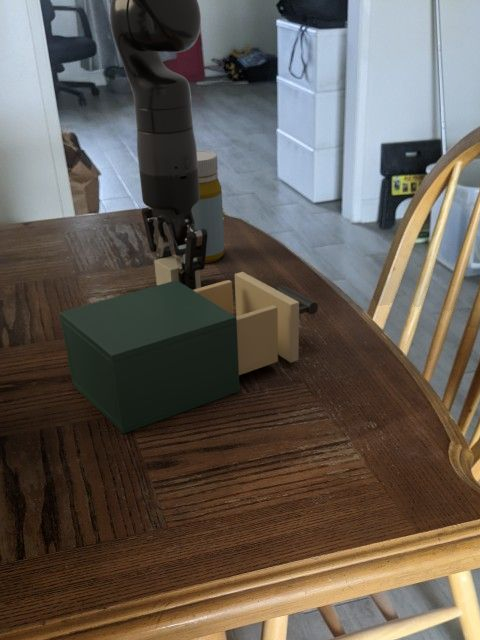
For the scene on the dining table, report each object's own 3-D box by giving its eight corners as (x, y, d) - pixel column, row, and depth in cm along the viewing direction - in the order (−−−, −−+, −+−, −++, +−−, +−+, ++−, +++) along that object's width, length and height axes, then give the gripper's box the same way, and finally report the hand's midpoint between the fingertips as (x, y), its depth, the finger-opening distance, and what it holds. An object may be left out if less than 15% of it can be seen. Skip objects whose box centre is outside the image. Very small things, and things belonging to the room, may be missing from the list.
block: (173, 302, 108) (170, 270, 105) (157, 291, 111) (153, 260, 108) (201, 293, 110) (199, 262, 107) (185, 283, 113) (182, 252, 110)
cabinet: (182, 350, 96) (176, 279, 91) (239, 391, 88) (236, 316, 82) (72, 386, 89) (59, 312, 84) (123, 434, 81) (111, 355, 76)
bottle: (209, 245, 126) (204, 146, 117) (233, 258, 121) (228, 156, 112) (171, 254, 122) (162, 154, 114) (194, 268, 118) (186, 164, 109)
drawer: (274, 316, 102) (274, 262, 97) (330, 348, 94) (332, 291, 90) (150, 356, 93) (144, 298, 89) (201, 395, 86) (196, 334, 81)
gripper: (116, 158, 103) (132, 281, 113) (170, 182, 94) (182, 314, 104) (166, 149, 107) (176, 269, 117) (223, 172, 97) (229, 300, 107)
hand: (179, 290), depth 110 cm, fingers closed on block, 4 cm apart
